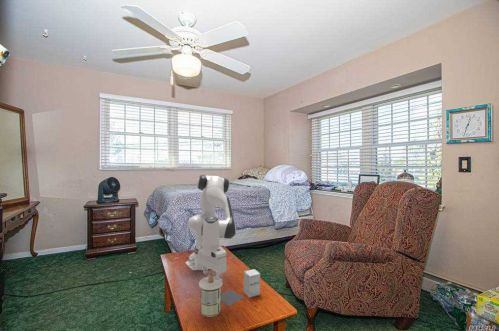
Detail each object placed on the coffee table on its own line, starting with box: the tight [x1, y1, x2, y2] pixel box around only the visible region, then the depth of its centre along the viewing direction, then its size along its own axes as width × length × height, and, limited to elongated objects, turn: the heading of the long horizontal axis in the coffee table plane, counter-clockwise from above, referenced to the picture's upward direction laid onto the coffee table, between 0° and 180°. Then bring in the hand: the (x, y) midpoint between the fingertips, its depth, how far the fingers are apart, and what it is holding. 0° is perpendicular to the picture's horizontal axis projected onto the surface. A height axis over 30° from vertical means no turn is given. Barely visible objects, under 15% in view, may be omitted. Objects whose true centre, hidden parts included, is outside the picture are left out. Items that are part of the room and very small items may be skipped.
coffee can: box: [200, 286, 222, 318], centre depth 123 cm, size 10×10×14 cm
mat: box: [221, 289, 245, 307], centre depth 135 cm, size 12×12×1 cm
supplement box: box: [243, 268, 261, 298], centre depth 140 cm, size 7×7×13 cm
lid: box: [198, 271, 224, 290], centre depth 123 cm, size 12×12×6 cm
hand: (210, 276), depth 123 cm, fingers open, 8 cm apart
